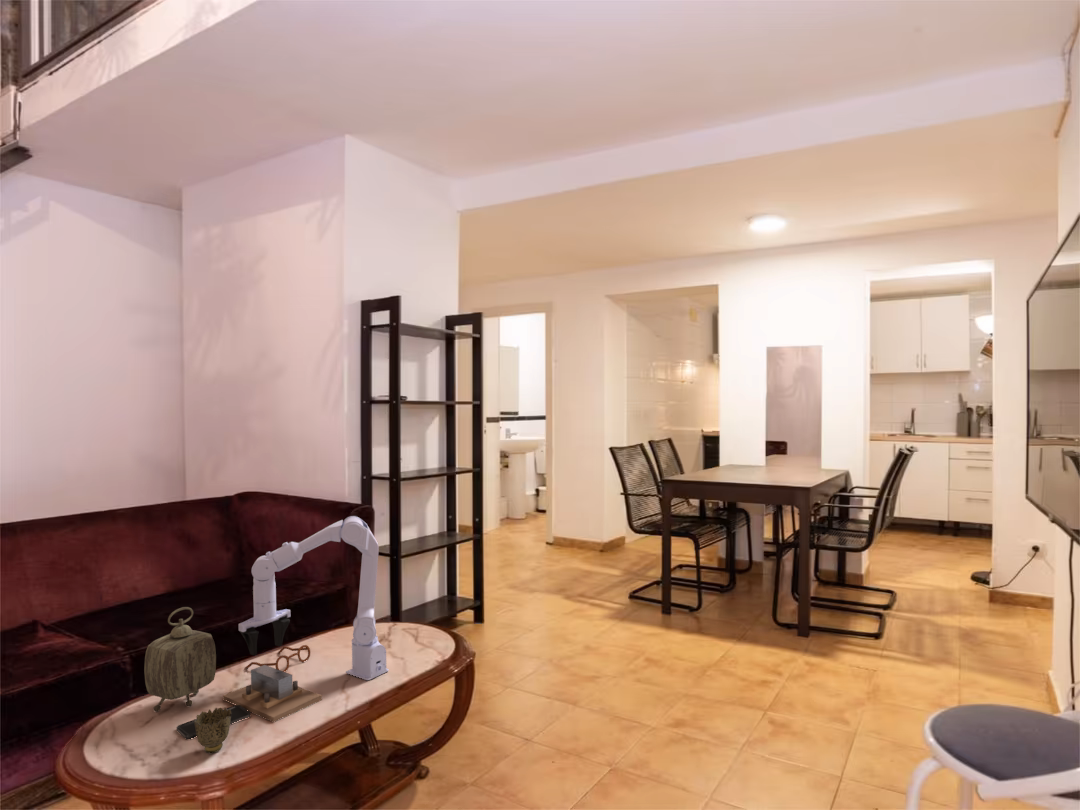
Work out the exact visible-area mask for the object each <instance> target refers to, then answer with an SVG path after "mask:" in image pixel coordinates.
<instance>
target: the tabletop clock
mask: <svg viewBox="0 0 1080 810" xmlns="http://www.w3.org/2000/svg"><path fill="white" fill-rule="evenodd" d="M185 610H186V611H190V613H191V614H190V616H189V617H188V618H186V619H184V618H179V619H178V622H174V623H173V622H171V618H172V617H173V616H174V615H175V614H177V613H178V612H180V611H181V612H182V611H185ZM193 616H194V610H193V609H192V608H191V607H189V606H182V607H180V608H177V609H175V610H174V611H172V612H171V613H170V614H169V616H168V618H167V623H168V625H170V626H172V627H173V628H172V629H171V631H170V633H168V634H166V635H164V636H161V637H159V638H157V639H155V640H153V641H151V643H150V644H148V645H147V648H146V651H145V656H144V669H143V671H144V673H143V674H144V683H145V687H146V691H147V693H148V694H149V695H151V696H153V697H154V696H155V697H157V698H158V697H159V698H160V700H159V703H158V704H156V705H154V706H153V711H154V712H156V713H157V712H159V711H160V710H161V709H162V708H161V706H162V704H163V703H164V701H165V700H170V701H171V700H177V699H181V698H183V697H186V702H185V706H186V707H187V706H190V707H191V706H192V705H193V703H194V702H193V700H191V699H190V698H191V697H190V695H191V694H193V695H197V694H199V691H200V690H201V689H202V688H205V687H206V686H208V685H210V684H211V683H212V682H213V681H214V680H215V676H216V671H217V670H216V668H217V654H216V644H215V641H214V639H213V636H212V634H211V633H208V632H204V631H199V630H195V629H194V630H193V629H192V628H191V626H189V625H187V624H186V623H187V622H189V621H190V620H191V619H192V618H193Z"/></svg>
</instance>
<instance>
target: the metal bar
mask: <svg viewBox="0 0 1080 810" xmlns="http://www.w3.org/2000/svg"><path fill="white" fill-rule="evenodd" d="M250 684H251V689H253V690H255V691H258V692H260V693H263V694H265V693H269V696H270V697H273V698H275V699H278V700H280V699H282V698H285V697H287V696H289V695H292V694H293V685H292V684H293V674H291V673H289V672H287V671H286V672H283V670H280V669H279V670H278V669H276V667H275V668H274V667H272V666H267V665H263V666H257V667H256V668H253V669H251V670H250Z"/></svg>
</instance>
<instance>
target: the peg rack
mask: <svg viewBox="0 0 1080 810" xmlns="http://www.w3.org/2000/svg"><path fill="white" fill-rule="evenodd" d="M292 685H293V694H292V695H289V696H287V697H285V698H282V699H280V700H278V699H275V698H273V697H270V696H269V693H265V694H263V693H260V692H258V691H255V690H253V689H251V683H250V684H248V685H245V686H243V687H241V688H239V689H236V690H233V691H231V692H228V693H225V694H223V695H222V700H223V699H224V700H227V701H229V702H231V703H234V704H236V705H240V706H242V707H243V708H245V709H246V710H248V711H250V713H251V712H253V713H252V714H254V715H256V714H257V715H256V716H258V715H260V716H261V718H263V717H264V718H263V719H265V718H266V720H267V719H269V720H268V721H270V720H271V721H270V722H272V721H273V722H272V723H275V722H277V721H279V720H278V719H280V718H282V717H284V718H286V717H288V716H290V715H293V714H295V713H296V711H297V712H299V711H301V710H303V709H305V708H307V706H308V707H310V706H312V705H313V703H314V704H316V703H319V702H320V701H323V695H322V694H319V693H316V692H314V691H311V690H309V689H306V688H303V687H300V686H298V685H299V684H298V680H292ZM224 700H223V701H224ZM319 700H320V701H319ZM229 702H228V703H229ZM315 702H316V703H315ZM231 703H230V704H231ZM311 704H312V705H311ZM309 705H310V706H309ZM302 708H303V709H302ZM300 709H301V710H300ZM298 710H299V711H298ZM294 712H295V713H294ZM292 713H293V714H292ZM289 714H290V715H289ZM287 715H288V716H287ZM260 716H259V717H260ZM285 716H286V717H285ZM282 719H283V718H282ZM276 720H277V721H276ZM280 720H281V719H280ZM274 721H275V722H274Z"/></svg>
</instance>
